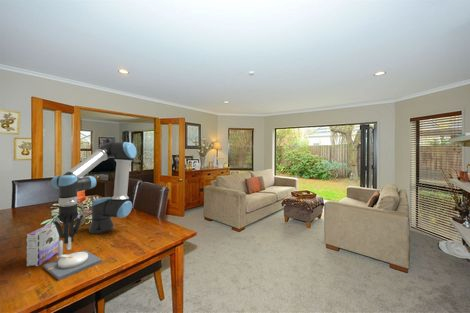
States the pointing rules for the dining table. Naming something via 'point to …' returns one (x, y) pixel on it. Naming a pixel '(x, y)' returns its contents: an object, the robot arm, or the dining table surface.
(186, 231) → the dining table surface
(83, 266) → the board
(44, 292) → the dining table surface
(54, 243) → the candy box
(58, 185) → the robot arm
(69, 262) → the dial
